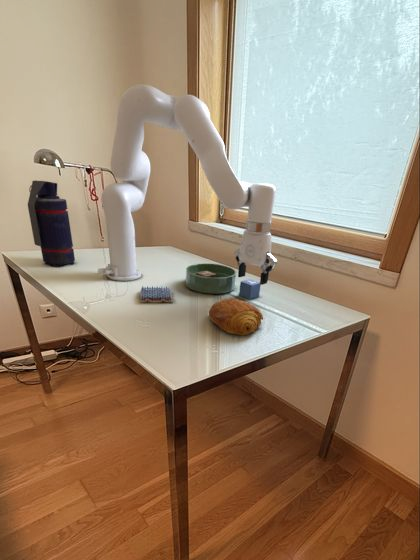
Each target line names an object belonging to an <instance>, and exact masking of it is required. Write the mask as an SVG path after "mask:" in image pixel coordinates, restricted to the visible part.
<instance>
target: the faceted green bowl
mask: <svg viewBox="0 0 420 560" xmlns="http://www.w3.org/2000/svg"><path fill="white" fill-rule="evenodd" d="M202 271H209V272H212V273H214V274H216V278H210V277H202V276H198V275H196V273H197V272H202ZM237 276H238V273H237V270H236V269H234V268H233V267H231V266H227V265H224V264H218V263H205V262H204V263H194V264H191V265H188V266H187V267H186V268H185V286H186V287H187V288H188V289H190V290H192V291H195V292H198V293H202V294H210V295H211V294H212V295H213V294H214V295H215V294H227V293H230V292H232V291H234V290H235V288H236V282H237Z"/></svg>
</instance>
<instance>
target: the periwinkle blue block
mask: <svg viewBox="0 0 420 560" xmlns="http://www.w3.org/2000/svg"><path fill="white" fill-rule="evenodd" d="M239 284H240V285H239V292H238V293H239V294H238V295H239V296H241V297H243V298H245V299H248V300H253V299H255V298H259V297H260V292H261V287H262V285H261V284H260V281H257V280H254V279H250V278H248V279H244V280H241V281H240V283H239Z"/></svg>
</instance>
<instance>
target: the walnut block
mask: <svg viewBox="0 0 420 560" xmlns="http://www.w3.org/2000/svg"><path fill="white" fill-rule="evenodd" d="M196 275H198V276H202V277H210V278H216V274H214V273H212V272H209V271H202V272H197V273H196Z"/></svg>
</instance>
